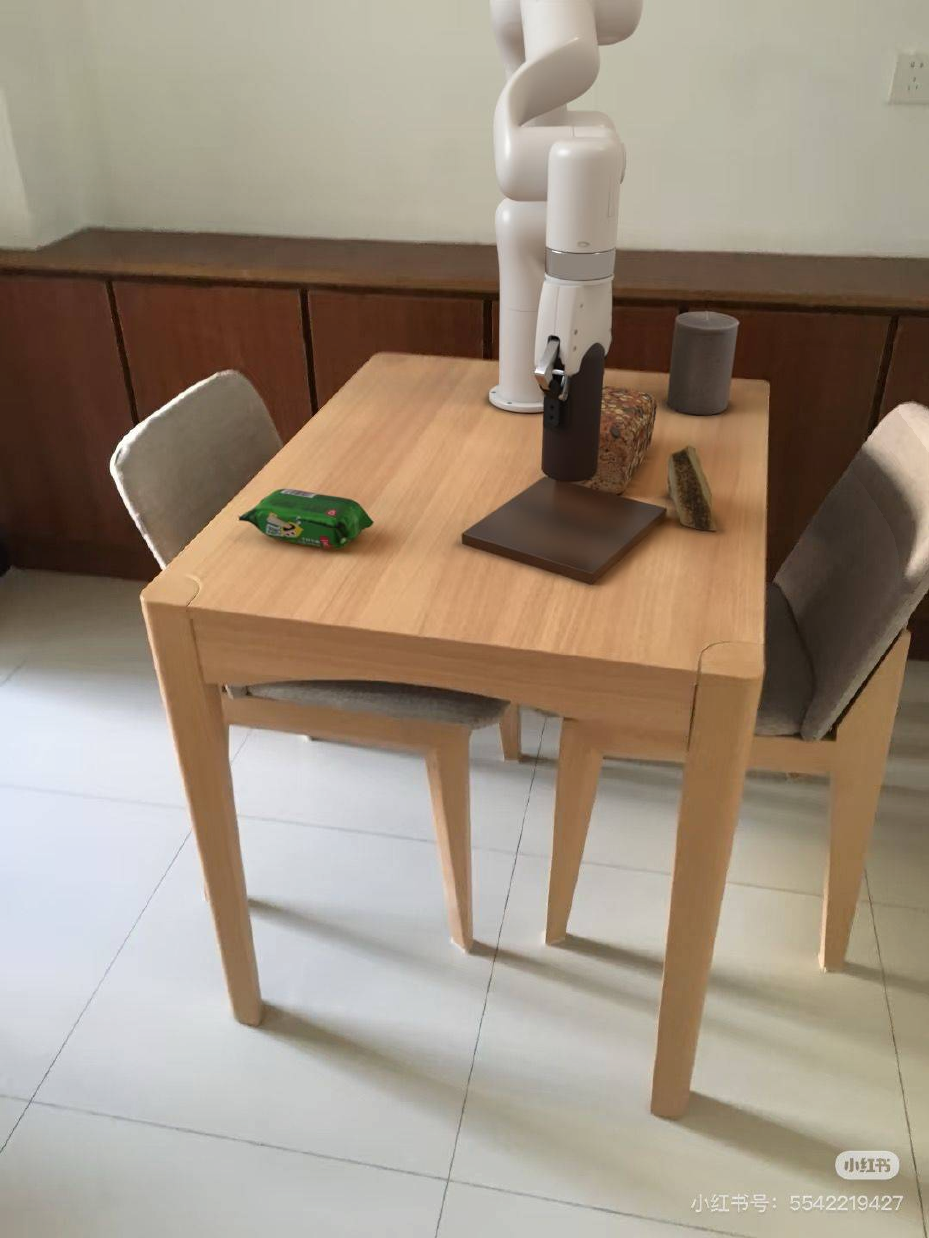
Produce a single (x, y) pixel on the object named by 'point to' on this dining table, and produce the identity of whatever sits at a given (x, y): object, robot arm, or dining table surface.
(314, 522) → the snack package
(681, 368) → the pillar candle
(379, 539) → the dining table surface
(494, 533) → the serving board
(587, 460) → the vinegar
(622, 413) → the bread
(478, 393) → the dining table surface
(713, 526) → the rock
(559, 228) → the robot arm
